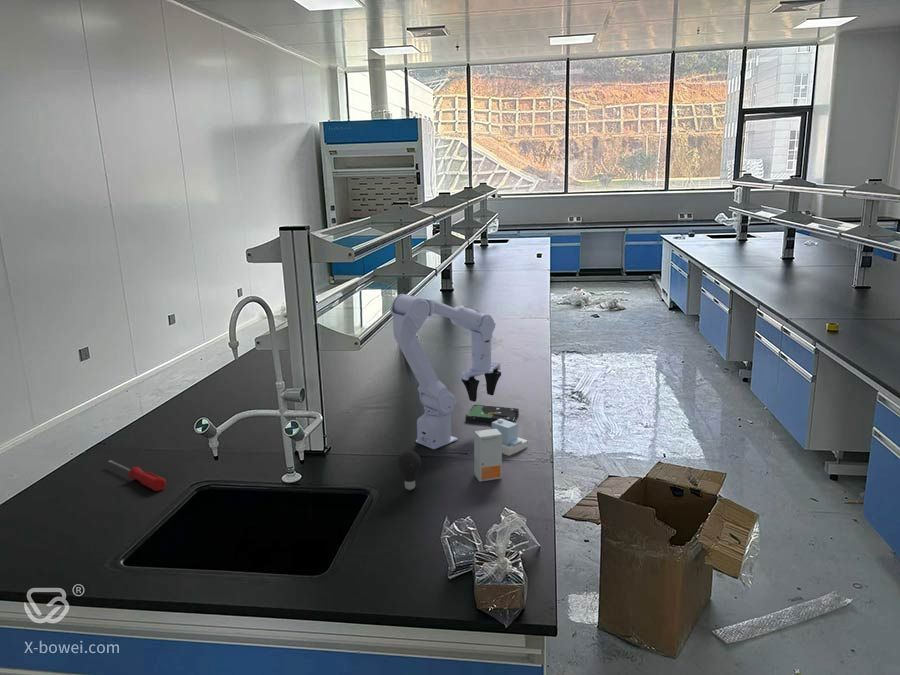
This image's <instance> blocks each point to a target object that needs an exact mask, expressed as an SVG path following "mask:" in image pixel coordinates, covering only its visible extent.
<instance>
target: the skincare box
mask: <svg viewBox="0 0 900 675" xmlns="http://www.w3.org/2000/svg"><path fill="white" fill-rule="evenodd" d="M473 432H474V434H473V436H474V440H473V442H474V444H473V445H474V447H473V449H474V451H473V452H474V454H473V456H474V458H473V459H474V460H473V461H474V464H473V465H474V466H473V470H474V473H473V475H474V476H475V478H476V479H477V480H478V482H479V483H480V482H486V481H493V480H501V479H502V477H503V476H502V475H503V474H502V471H503V470H502V469H503V468H502V467H503V466H502V465H503V460H502V459H503V453H502V434H501V433H500V432H499V431H498V430H497V429H492V428H491V429H483V430H482V429H481V430H476V431H473Z"/></svg>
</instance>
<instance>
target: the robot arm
mask: <svg viewBox="0 0 900 675" xmlns="http://www.w3.org/2000/svg"><path fill="white" fill-rule="evenodd" d="M389 311H390V314H391V316H392V326H393V327H392V328H393V329H392V330H393V336H394V339H395V341H396V343H397V345H398V347H399V348H400V351H401V352H402V353H403V356H404V358H405V360H406V362H407V364H408V365H409V368H410V369H411V371H412V373H413V375H414V378H415V379H416V381H417V382H418V385H419V386H418V387H417V391H418V393H419V401H420V403H421V405H423V409H424V413H423V414H422V415H421V416H419V417H418V418H417V420H416V437H417V438H416V440H415V443H417V444H420V445H422V446H425V447H427V448H429V449H432V450H436V449H438V448H441V447H444V446H447V445H448V444H451V443H453V442H456V441H458V437H455V436H452V426H451V425H452V421H451V419H452V418H451V415H452V412H453V410H454V408H455V407H456V401H457V400H456V397H455V395H454V394H453V393H452V392H451V391H449V390H448V388H447V386H446V385H445V384H444V383H443V382H442V381H440V380H439V378H438V376H437V374H436V371H435V370H434V368H433V366H432V364H431V362H430V359H429V358H428V356H427V354H426V353H425V350H424V348H423V346H422V343H421V342H420V340H419V338H418V337H417V333H418V332H419V331H420V330H421V328H422V326H423V325H424V323H425V322H426V320H427V319H428V318H429V317H432V316H433V315H434V314H435V315H438V316H440V317H445V318H448V319H450V323H451V324H453V325H454V326H458V327H460V328H463V329H466V330H468V331H469V332H470V333H471V337H470V338H471V367H470V368H468V369H467V370H465V371H462V372H461V382H462V383H463V385H464V388H465V389H466V392H467V394H468V399H469V402H470V401H471V402H473V403H475V402H477V398H478V388H479V384H480V380H478V379H476V378H475V377H478V376H479V377H480V376H481V375H484V378H485V386H486V394H487V395H489V396H494V394H495V391H496V387H497V384H498V382H499V379H500V378H501V376H502V372H501V371H500V370H501V363H499V362H492V338H493V332H494V331H495V329H496V324H497V323H496V322H495V320H494V319H493V316H491V315H489V314H486V313H482V312H481V310H479V309H471V308H469V305H466V304H461V305H460V304H459V305H456V306H455V307H454V306H453V307H452V306H450V305H448V304H445V303H443V302H440V301H437V300H435V299H431V298H427V297H422V296H416V295H409V294H406V293H401V294H398V295H396V296H395V297H394V299H393V301H392V304H391V307H390V309H389Z"/></svg>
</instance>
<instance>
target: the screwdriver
mask: <svg viewBox="0 0 900 675" xmlns="http://www.w3.org/2000/svg"><path fill="white" fill-rule="evenodd" d="M108 462H109V463H111V464H113V465H115V466H117V467H119V468H121V469H124V470H125V471H128V477H129V478H130V480H131V479H132V480H137V481H139V482H140V484H141V485H144V486H146V487H147V488H149V489H151V490H153V491H155V492H160V491H163V490H164V488H165V487H166V484H167V481H166V479H165V478H163V477H161V476H158V474H154V473H152V472H150V471H143V470H142V468H141V467H139V466H134V467H132V468H131V469H130V468H129V467H127V466H124V465H122V464H120V463H117V462H115V461H113V460H108Z"/></svg>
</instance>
